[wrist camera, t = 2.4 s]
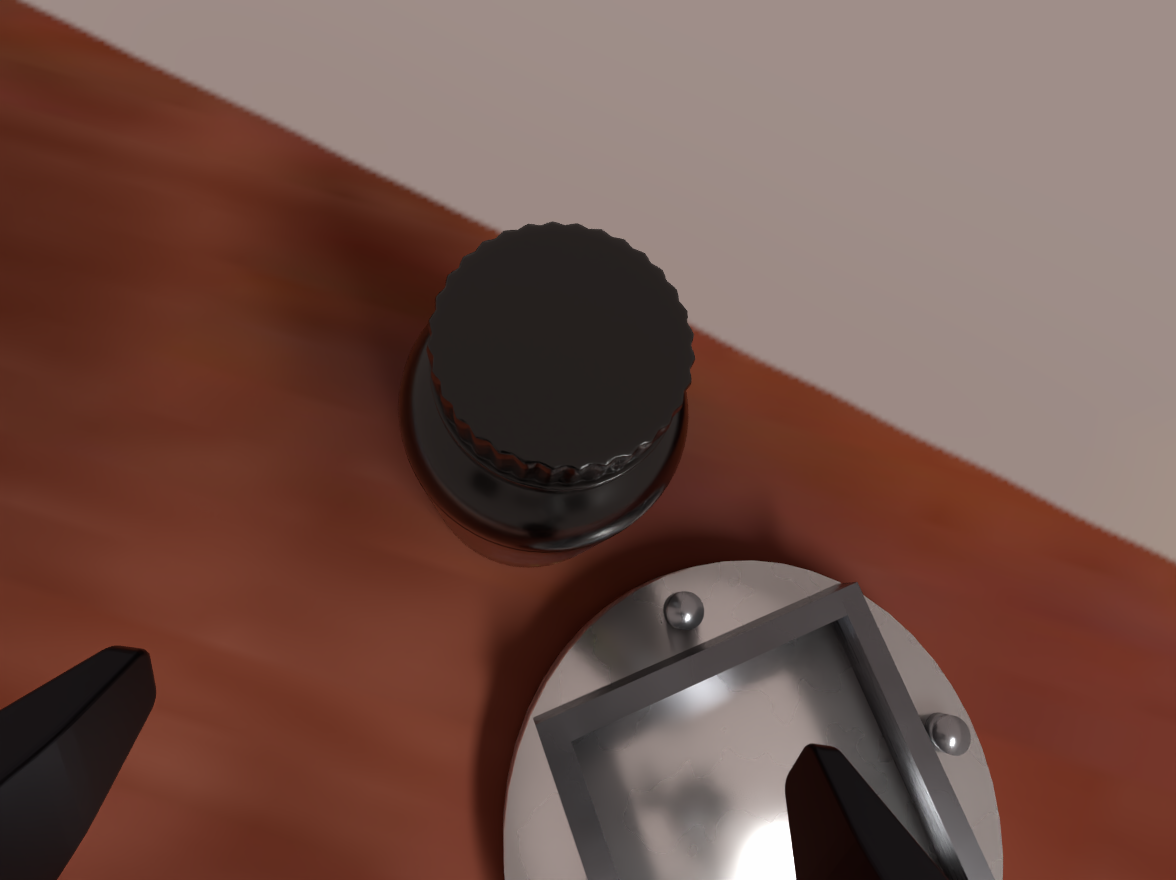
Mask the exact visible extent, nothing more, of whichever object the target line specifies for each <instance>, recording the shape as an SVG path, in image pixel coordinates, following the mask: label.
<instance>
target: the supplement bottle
mask: <svg viewBox="0 0 1176 880" xmlns="http://www.w3.org/2000/svg"><path fill="white" fill-rule="evenodd" d="M445 286H446V287H445V288H444V289H443V290H442V291H441V292H440V293H439V294H438V295H437V296H436V298H435V310H436V311H435V312H434V313H433V315H432V316H431V318H430V320H429V322H428V324H427V326H426V327H425V328H424V330H423V331H422V332H421V334H420V335H419V337H418V339H417V340H416V342H415V344H414V346H413V348H412V350H411V352H410V354H409V356H408V359H407V362H406V365H405V368H404V371H403V375H402V380H401V384H400V391H399V408H398V413H399V424H400V430H401V435H402V440H403V444H404V447H405V450H406V454H407V457H408V460H409V462H410V464H411V466H412V469H413V471H414V473H415V475H416V477H417V478H418V480H419V482H420V484H421V486H422V487H423V489H424V490H425V492H426V493H427V495H428V497H429V498H430V500H431V501H432V503H433V504H434V506H435V507H436V509H437V510H438V512H439V513H440V515H441V517H442V518H443V520H444V521H445V522H446V524H447V525H448V527H449V528H450V529H451V530H452V531H453V533H454V534H455V535H456V536H457V537H458V538H459V539H460V540H461V541H462V542H463V543H464V544H465V545H467V546H468V547H469V548H471V549H472V550H473V551H475V552H477V553H478V554H480V555H481V556H483V557H486V558H488V559H490V560H492V561H495V562H498V563H501V564H505V565H509V566H515V567H528V568H530V567H542V566H549V565H553V564H556V563H560V562H563V561H565V560H568V559H571V558H573V557H575V556H577V555H579V554H581V553H583V552H585V551H586V550H588V549H590V548H592V547H594V546H596V545H598V544H599V543H601V542H603V541H605V540H607V539H609V538H611V537H613V536H614V535H616V534H618V533H619V532H621V531H622V530H624V529H626V528H627V527H628V526H630V525H631V524H632V523H634V522H635V521H636V520H638V519H639V518H640V517H641V516H642V515H643V514H644V513H645V512H646V511H647V510H648V509H649V508H650V507H651V506H652V505H653V504H654V503H655V502H656V501H657V499H658V498H659V497H660V496H661V495H662V493H663V492H664V490H665V489H666V487H667V486H668V484H669V483H670V481H671V479H672V477H673V475H674V474H675V472H676V469H677V467H678V464H679V462H680V460H681V456H682V453H683V450H684V446H685V441H686V436H687V429H688V399H687V392H686V390H687V389H688V388H689V386H690V385H691V374H690V369H691V367H692V365H693V363H694V361H695V356H694V352H693V350H692V347H691V344H692V341H693V336H694V334H693V332H692V330H691V328H690V326H689V325H688V323H687V318H688V316H687V310H686V309H685V308H684V306H683V305H682V304H681V303H680V302H679V298H678V293H677V290H676V289H675V288H674V287H673V286H672V285H671V284H670V283H669V282H667V280H666V279H665V275H664V272H663V270H661V269H660V268H658V267H657V266H655V265H653V264H652V263H651V262H650V261H649V259H648V257H647V256H646V254H645V253H643V252H641V251H638V250H636V249H633V248H632V247H631V246H630V245H629V244H628V243H627V242H626V241H625V240H624V239H620V238H614V237H611V236H610V235H608V234H607V233H606V232H605V231H603V230H602V229H588V228H586V227H584V226H582V225H580V224H570V225H562V224H560V223H556V222H550V223H546V224H544V225H534V224H527V225H525V226H523V227H522V228H520V229H519V230H507V231H503V232H502V233H501V234H500V235H499V236H498V237H497V238H496V239H492V240H487V241H484V242H482V243H481V244H480V246H479V247H478V248H477V250H476V251H475V252H473V253H470V254H468V255H466V256H464V257H463V259H462V261H461V263H460V266H459V268H458V269H456V270H455V271H453V272H451V273H450V274H449V275H448V276H447V280H446V285H445Z"/></svg>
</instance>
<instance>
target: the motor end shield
mask: <svg viewBox="0 0 1176 880" xmlns="http://www.w3.org/2000/svg"><path fill="white" fill-rule="evenodd" d="M810 743H814V744H821V745H828V746H833V747H835V748H837V749H838V750H839V751H841V752H842V753H843V755H844V756H845V757H846V758H847V759H848V760H849V762H850V763H851V764H852V765H853V766H854V768H855V769H856V770H857V771H858V772H859V774H860V775H861V776H862V777H863V778H864V780H865V781H866V782H867V783H868V784H869V785H870V787H871V788H872V789H873V790H874V791H875V793H876V794H877V795H878V796H879V797H880V799H881V800H882V801H883V802H884V803H885V805H886V806H887V807H888V808H889V809H890V810H891V812H892V813H893V814H894V815H895V816H896V818H897V819H898V820H899V821H900V822H901V824H902V825H903V826H904V827H905V828H906V830H907V831H908V832H909V833H910V834H911V836H912V837H913V838H914V839H915V840H916V841H917V843H918V844H919V845H920V846H921V847H922V849H923V850H924V851H925V852H926V853H927V855H928V856H929V857H930V858H931V859H932V861H933V862H934V863H935V864H936V865H937V866H938V868H939V869H940V870H941V871H942V872H943V874H944V875H945V876H946V877H947V878H948V880H1003V851H1002V840H1001V829H1000V819H999V813H998V808H997V803H996V798H995V793H994V788H993V783H992V779H991V776H990V773H989V769H988V766H987V763H986V760H985V756H984V753H983V750H982V747H981V745H980V742H979V740H978V737H977V735H976V733H975V730H974V728H973V725H972V723H971V721H970V718H969V716H968V714H967V712H966V711H965V709H964V707H963V705H962V703H961V701H960V700H959V698H958V696H957V694H956V692H955V690H954V689H953V687H952V685H951V684H950V682H949V681H948V680H947V678H946V677H945V675H944V674H943V672H942V671H941V669H940V668H939V667H938V665H937V664H936V662H935V661H934V659H933V658H932V657H931V656H930V655H929V654H928V652H927V651H926V650H925V649H924V648H923V647H922V646H921V644H920V643H919V642H918V641H917V640H916V639H915V637H914V636H913V635H912V634H911V633H910V632H908V631H907V630H906V629H905V628H904V627H903V626H902V625H901V624H900V623H899V622H898V621H897V620H895V619H894V618H893V617H892V616H891V615H890V614H889V613H887V612H886V611H885V610H883V609H882V608H880V607H879V606H878V605H876V604H875V603H874V602H872V601H871V600H869V599H868V598H867V597H865V596H864V595H863V593H862V591H861V589H860V587H859V585H858V583H857V582H852V583H840V582H838V581H836V580H833V579H831V578H828V577H826V576H823V575H821V574H818V573H815V572H813V571H810V570H806V569H802V568H798V567H794V566H790V565H786V564H782V563H773V562H763V561H754V560H751V561H723V562H718V563H712V564H706V565H700V566H695V567H690V568H686V569H681V570H678V571H675V572H672V573H669V574H666V575H663V576H660V577H657V578H654V579H652V580H650V581H648V582H646V583H644V584H642V585H640V586H638V587H636V588H634V589H632V590H630V591H628V592H627V593H625V594H624V595H622V596H621V597H619V598H618V599H616V600H615V601H613V602H612V603H610V604H609V605H607V606H606V607H604V608H603V609H602V610H601V611H600V612H599V613H598V614H596V615H595V616H594V617H593V618H592V619H591V620H590V621H589V622H587V623H586V624H585V625H584V626H583V627H582V628H581V629H580V630H579V631H578V632H577V634H576V635H575V636H574V637H573V638H572V639H571V641H570V642H569V643H568V644H567V645H566V646H565V647H564V649H563V650H562V651H561V652H560V654H559V655H558V657H557V658H556V660H555V661H554V663H553V664H552V666H551V667H550V669H549V670H548V672H547V673H546V675H545V676H544V678H543V679H542V681H541V683H540V685H539V687H538V689H537V691H536V693H535V695H534V697H533V699H532V701H531V703H530V705H529V707H528V709H527V712H526V715H525V717H524V720H523V723H522V726H521V728H520V731H519V734H518V737H517V740H516V742H515V747H514V751H513V755H512V760H511V764H510V768H509V772H508V777H507V784H506V793H505V802H504V811H503V859H504V876H505V880H796V876H795V868H794V861H793V853H792V845H791V837H790V829H789V821H788V813H787V806H786V798H785V782H786V778H787V775H788V773H789V771H790V770H791V768H792V766H793V765H794V763H795V761H796V760H797V758H798V757H799V755H800V753H801V752H802V750H803V748H804V747H805V746H806V745H808V744H810Z"/></svg>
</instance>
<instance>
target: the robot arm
mask: <svg viewBox="0 0 1176 880" xmlns="http://www.w3.org/2000/svg"><path fill="white" fill-rule="evenodd" d="M155 698H156V686H155V680H154V675H153V670H152V664H151V659H150V655H149V653H148V652H147V651H146V650H144V649H140V648H133V647H126V646H111V647H108V648H105V649H104V650H102V651H100V652H98V653H96V654H95V655H93V656H91V657H90V658H88V659H86V660H85V661H83V662H81V663H79V664H78V665H76V666H74V667H73V668H71V669H69V670H68V671H66V672H64V673H62V674H61V675H59V676H57V677H56V678H54V679H52V680H51V681H49V682H47V683H45V684H44V685H42V686H40V687H39V688H37V689H35V690H34V691H32V692H30V693H28V694H27V695H25V696H23V697H22V698H20V699H18V700H17V701H15V702H13V703H11V704H10V705H8V706H6V707H5V708H3V709H1V710H0V880H57V879H58V877H59V876H60V874H61V872H62V871H63V869H64V868H65V866H66V865H67V863H68V862H69V860H70V859H71V857H72V855H73V854H74V852H75V851H76V849H77V847H78V846H79V844H80V843H81V841H82V839H83V838H84V836H85V834H86V833H87V831H88V829H89V827H90V826H91V824H92V822H93V820H94V818H95V817H96V815H97V813H98V811H99V809H100V807H101V805H102V803H103V802H104V800H105V798H106V796H107V794H108V792H109V790H110V788H111V786H112V784H113V782H114V781H115V779H116V777H117V775H118V773H119V771H120V769H121V767H122V765H123V763H124V761H125V760H126V758H127V756H128V754H129V752H130V750H131V748H132V746H133V744H134V742H135V740H136V739H137V737H138V735H139V733H140V731H141V729H142V727H143V725H144V723H145V721H146V719H147V718H148V716H149V714H150V712H151V710H152V707H153V705H154V702H155ZM785 798H786V806H787V813H788V821H789V829H790V837H791V845H792V853H793V861H794V868H795V876H796V880H948V878H947V877H946V876H945V875H944V874H943V872H942V871H941V870H940V869H939V868H938V866H937V865H936V864H935V863H934V862H933V861H932V859H931V858H930V857H929V856H928V855H927V853H926V852H925V851H924V850H923V849H922V847H921V846H920V845H919V844H918V843H917V841H916V840H915V839H914V838H913V837H912V836H911V834H910V833H909V832H908V831H907V830H906V828H905V827H904V826H903V825H902V824H901V822H900V821H899V820H898V819H897V818H896V816H895V815H894V814H893V813H892V812H891V810H890V809H889V808H888V807H887V806H886V805H885V803H884V802H883V801H882V800H881V799H880V797H879V796H878V795H877V794H876V793H875V791H874V790H873V789H872V788H871V787H870V785H869V784H868V783H867V782H866V781H865V780H864V778H863V777H862V776H861V775H860V774H859V772H858V771H857V770H856V769H855V768H854V766H853V765H852V764H851V763H850V762H849V760H848V759H847V758H846V757H845V756H844V755H843V753H842V752H841V751H839V750H838V749H837V748H835V747H833V746H828V745H821V744H814V743H810V744H808V745H806V746H805V747H804V748H803V750H802V752H801V753H800V755H799V757H798V758H797V760H796V761H795V763H794V765H793V766H792V768H791V770H790V771H789V773H788V775H787V778H786V782H785Z"/></svg>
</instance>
